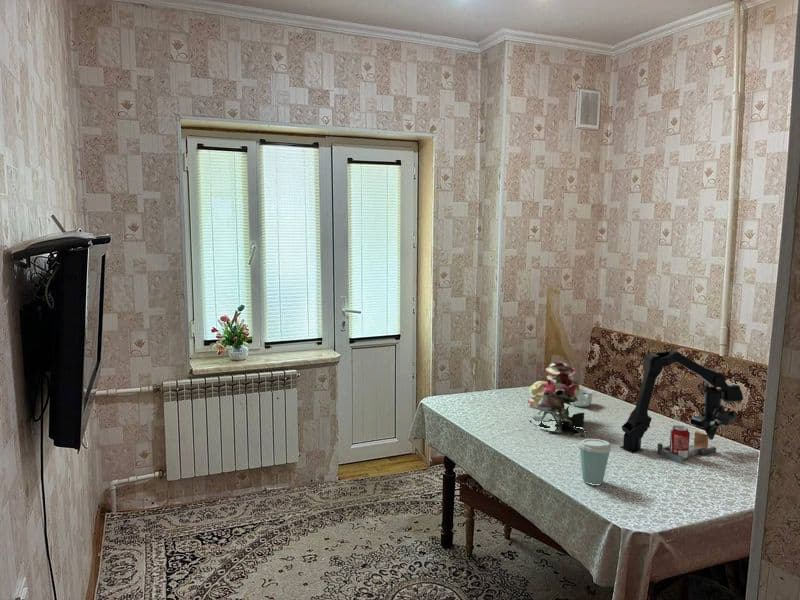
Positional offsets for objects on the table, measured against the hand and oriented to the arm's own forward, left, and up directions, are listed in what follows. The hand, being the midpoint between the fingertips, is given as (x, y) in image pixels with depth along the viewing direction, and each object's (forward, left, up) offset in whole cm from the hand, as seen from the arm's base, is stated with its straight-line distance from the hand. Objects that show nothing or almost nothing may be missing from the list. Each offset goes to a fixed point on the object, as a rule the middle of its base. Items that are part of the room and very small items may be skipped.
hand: (710, 439), depth 234 cm
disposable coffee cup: (-65, -3, -5) cm, 66 cm away
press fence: (-17, 0, -4) cm, 18 cm away
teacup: (-4, +68, -5) cm, 68 cm away
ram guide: (-4, 0, -4) cm, 6 cm away
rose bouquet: (-37, +50, -5) cm, 62 cm away
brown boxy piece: (-10, 0, -4) cm, 11 cm away
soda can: (-18, 0, -5) cm, 19 cm away
